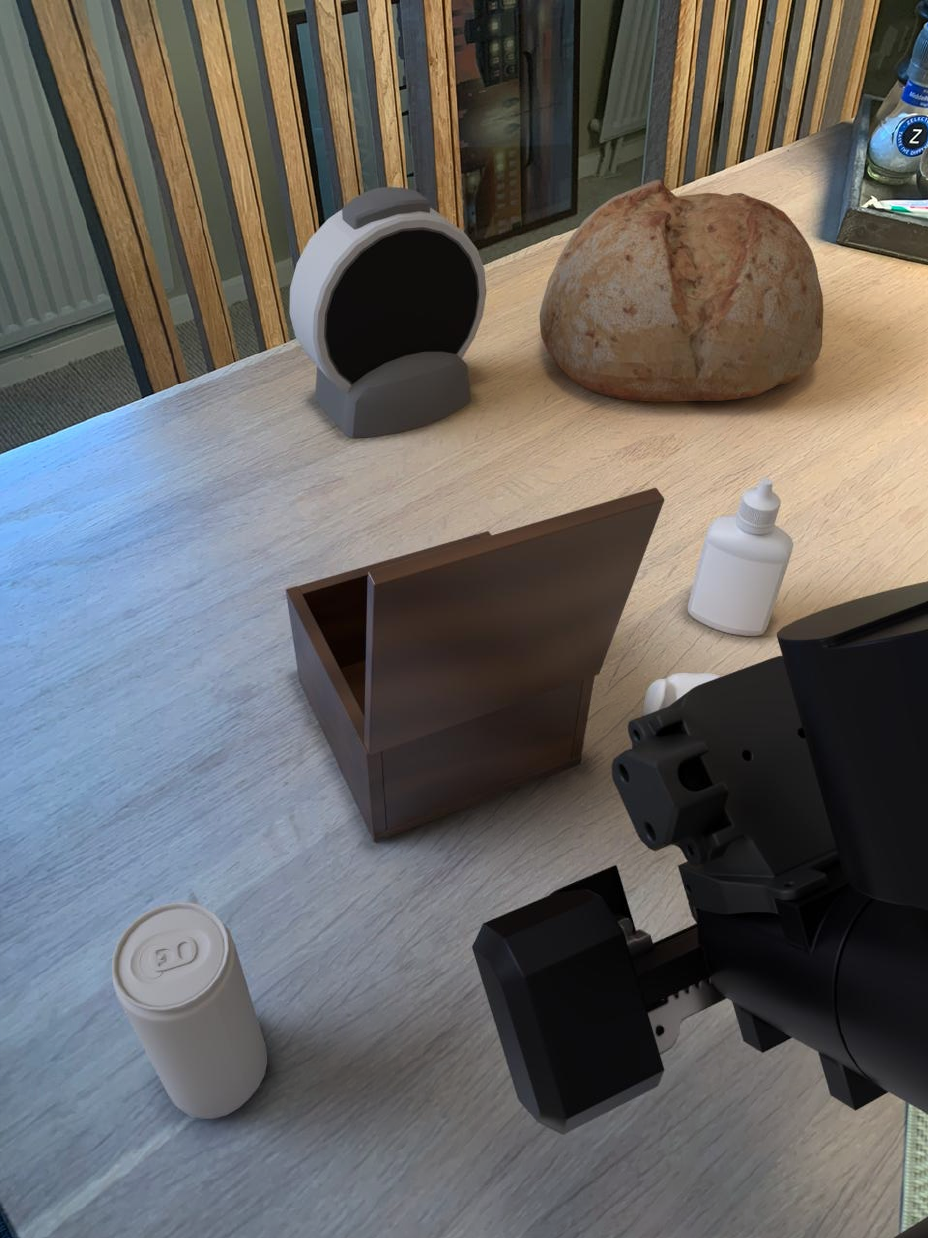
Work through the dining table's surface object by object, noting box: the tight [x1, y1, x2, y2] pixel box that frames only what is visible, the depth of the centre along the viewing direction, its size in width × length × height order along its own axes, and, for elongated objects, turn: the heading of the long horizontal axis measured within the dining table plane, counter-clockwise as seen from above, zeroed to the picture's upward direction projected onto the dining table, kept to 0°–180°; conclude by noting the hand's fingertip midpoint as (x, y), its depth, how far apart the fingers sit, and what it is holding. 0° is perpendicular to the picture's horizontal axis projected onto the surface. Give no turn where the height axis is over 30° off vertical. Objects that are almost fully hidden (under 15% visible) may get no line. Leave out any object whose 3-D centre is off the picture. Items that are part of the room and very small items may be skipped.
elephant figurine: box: [641, 672, 722, 717], centre depth 60 cm, size 7×8×6 cm
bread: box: [538, 179, 824, 402], centre depth 91 cm, size 26×23×15 cm
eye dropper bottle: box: [687, 477, 794, 637], centre depth 66 cm, size 4×6×12 cm
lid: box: [364, 487, 665, 755], centre depth 47 cm, size 14×14×1 cm
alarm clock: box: [289, 186, 487, 439], centre depth 83 cm, size 16×10×18 cm, turn 121°
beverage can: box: [111, 901, 268, 1120], centre depth 44 cm, size 5×5×12 cm
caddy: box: [285, 530, 596, 844], centre depth 60 cm, size 14×14×8 cm
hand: (638, 868), depth 41 cm, fingers open, 6 cm apart
